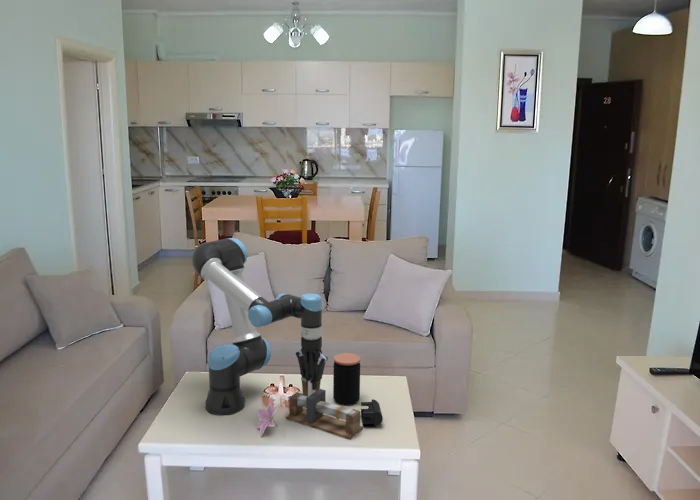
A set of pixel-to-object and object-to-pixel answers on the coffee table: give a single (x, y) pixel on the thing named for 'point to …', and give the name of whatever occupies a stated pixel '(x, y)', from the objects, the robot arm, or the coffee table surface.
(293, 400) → the pipe stand
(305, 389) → the coffee cup
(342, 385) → the coffee jar
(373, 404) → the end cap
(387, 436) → the coffee table surface
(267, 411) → the lily
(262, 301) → the robot arm
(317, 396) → the collar
